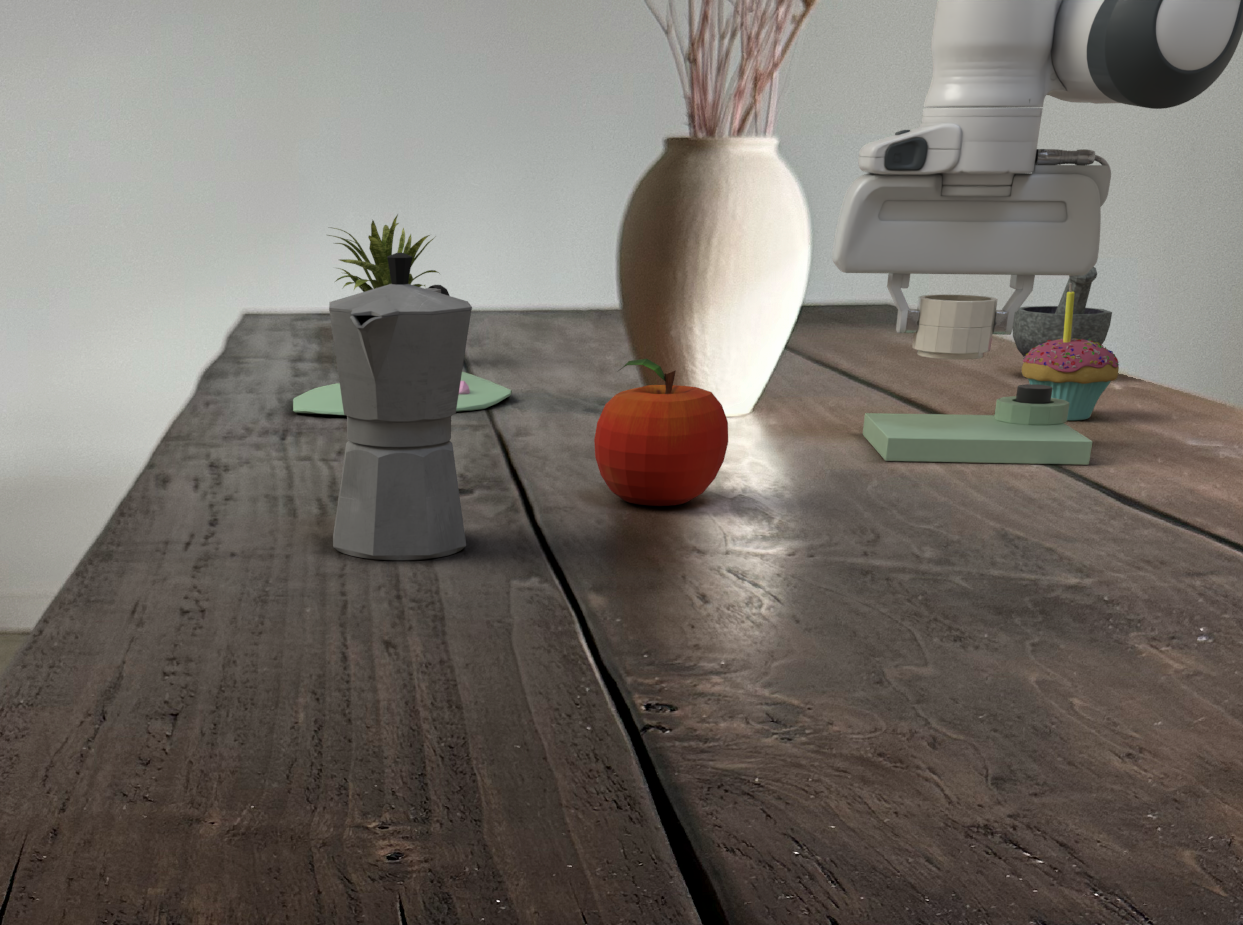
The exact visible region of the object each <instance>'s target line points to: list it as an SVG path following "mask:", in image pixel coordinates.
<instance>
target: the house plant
mask: <svg viewBox="0 0 1243 925" xmlns="http://www.w3.org/2000/svg"><path fill="white" fill-rule="evenodd" d="M398 216H399V214H397V215H396V216H395V217H394V218H393V220H392V223H391V226H390V227H389V225H387V224H385V225H383V228H382V233H381V234H382V236H380V234H379V231H378V228H377V225H376V223H375V220H373V219H371V220H372V221H371V223H370V235H368V237H367V238H368V240H369V249H368V250H369V251H370V254H371V256H372V259H373V261H374V263H372V262H371V261H370V259H369V258H368V256H367V254H366V253H365V252H366V251H364V249H363V247H362V246H361V244H360V243H359V242H358V240H357V239H356V238H355V236H353V235H352V234H351V233H350V232H347V231H346V230H343V229H341V228H337V227H333V229H334V230H338V231H341V232H344V233H345V234H347V235H348V236H350V237H351V238H352V239H347V238H344V237H341V236H336V235H331V234H327V236H328V237H333V238H338V239H341V240H342V241H344V242H345V243H344V242H343V243H342V242H334V245H335V244H336V245H342V246H344V247H345V248H347V249H348V250H349V251H350V252H351V253H352V254H353V255H354V257H355V258H356V259H351V258H350V259H349V258H348V259H347V258H346V259H343V258H341V259H339V261H340V262H343V263H346V264H352V265H355V266H358V267H360V268H362V270H363V271H364V273H365V275H366V277H367V278H368V279H366V278H365V279H364V278H361V277H360V276H358V275H354V274H351V273H350V272H349V271H347V270H346V269H343V268H340V267H337V269H338V270H341V271H343V273H344V274H346V275H342V276H340V277H337V279H336V280H335V281H334V283H335V282H338V281H339V280H342V279H344V278H350V279H351V280H352V281H347V282H345V284H344V285H343V287H342V289H345V287H347V286H350V285H353V284H354V287H353V291H355V290H356V288H359V289H360V290H361V291H362V292H365V291H369V290H372V289H375V288H379V287H382V286H386V285H389V284H392V283H391V277H390V271H389V265H388V259H387V256H390V255H392V254H393V243H394V237H395V236H394V234H395V231H396V230H395V229H396V227H397V226H398V225H399V224H400V222H397V219H398ZM327 228H328V229H332V227H330V226H329V227H328V226H327ZM430 236H431V234H428V235H425V236H423V237H421V238H420V239H419V240H418V241H417V242H415V243H414V244H413V245H412V233H410V234H409V236H408V239H407V242H406V231H405V228H404V227H402V230H401V234H400V237H399V242H398V247H397V251H396V253H405V254H407V255H410V256H412V257H413V258H412V264H411V267H413V264H414V263H415V262H416V260H417V259H418V258H419V257H420V255H421V254H422V253H423V252H424V250H425V249H426V247H427V246H428V245H429V244H430V243H431V242H433V240H434V239H435V238H436V236H434V237H433V238H432V239H430V240H429V241H428V242H426V244H425V245H424V246H423V248H422V249H421V250H420V251H419V249H420V248H421V246H422V244H423V243H424V241H425V240H426V239H427V238H428V237H430ZM352 242H353V243H352ZM354 243H355V244H356V245H355V244H354ZM418 251H419V252H418ZM332 268H334V269H335V267H332ZM369 271H370V272H371V274H372V276H373V277H374V279H373V278H372V276H371V274H370V272H369ZM428 273H439V275H441V276H442V274H441V273H440V272H439V271H437V270H436V269H435V270H434V269H430V270H426V271H424V272H422V273H420V274H418V275H416V276H415V277H414V276H413V274H412V273H410V275H409V281H408V284H411V285H412V283H413V281H414V280H416V279H418V278H419V277H421V276H422V275H425V274H428ZM367 282H370V284H371V285H370V284H368V283H367ZM413 285H414V286H417V287H421V288H422V286H423V287H424V289H425V288H427V287H426V284H421V283H414V284H413Z"/></svg>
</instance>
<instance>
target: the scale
mask: <svg viewBox="0 0 1243 925" xmlns="http://www.w3.org/2000/svg"><path fill="white" fill-rule="evenodd" d="M1015 401H1016V395H1012V396H1002V397H1000V398H997V399H996V401H995V410H994V414H949V413H948V414H947V413H888V412H887V413H885V412H884V413H883V412H882V413H881V412H879V413H878V412H865V413H864V417H863V418H864V419H863V428H862V435H863V437H864V438H865V439H866V440H867V441H868V443H869V444H870V445H871V446H872V447H873V448H874V449H875V451H876V452H877V453H878V454H879V455H880V456H881V457H882V458H883V460H884V461H885V462H912V463H913V462H914V463H915V462H916V463H918V462H919V463H920V462H921V463H963V464H964V463H967V464H970V463H972V464H974V463H975V464H977V463H978V464H1014V465H1015V464H1018V465H1020V464H1021V465H1022V464H1024V465H1073V466H1074V465H1075V466H1078V465H1079V466H1088V465H1090V461H1091V454H1092V448H1093V440H1091V439H1090V438H1088V437H1087V436H1085V435H1083V434H1082V433H1080V432H1079V431H1077V430H1075V429H1074V428H1072V427H1071V426H1069V425H1068V424H1066V423H1067V421H1068V420H1067V417H1068V410H1069V404H1070V403H1069V402H1067V401H1065V400H1061V399H1056V398H1051V401H1050V403H1049V404H1030V403H1020V402H1015Z"/></svg>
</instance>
